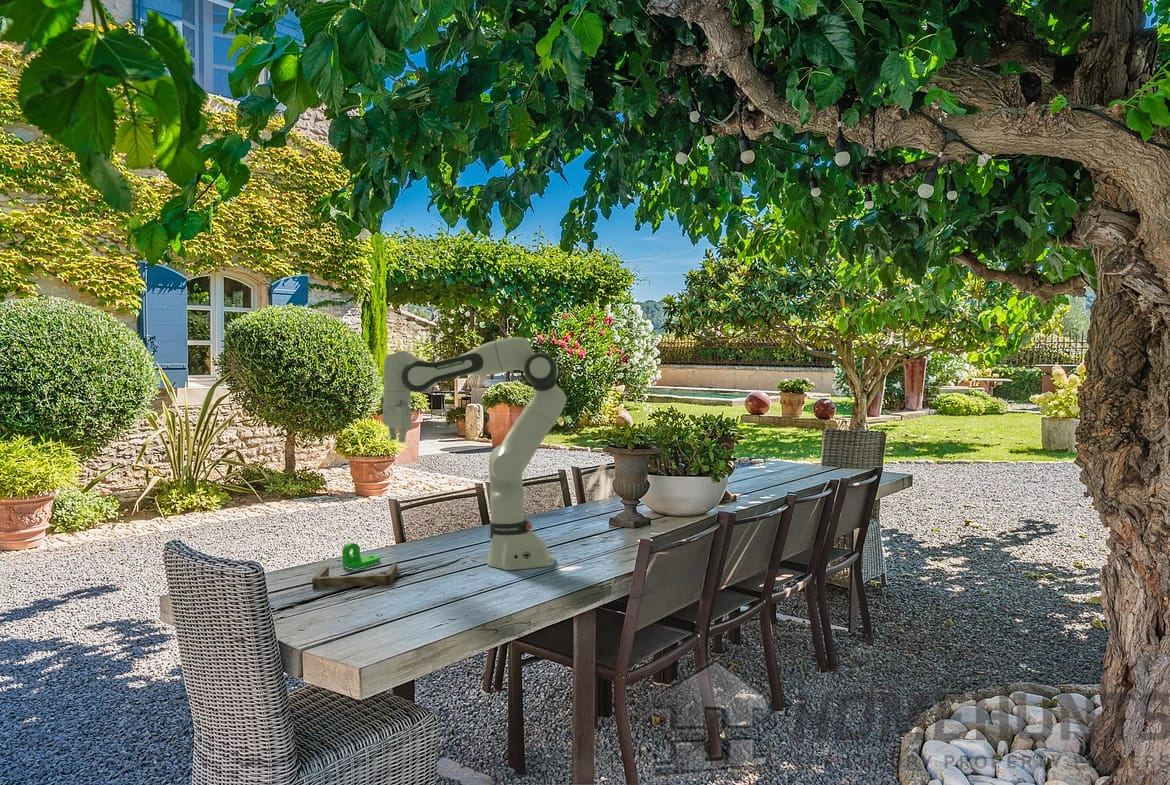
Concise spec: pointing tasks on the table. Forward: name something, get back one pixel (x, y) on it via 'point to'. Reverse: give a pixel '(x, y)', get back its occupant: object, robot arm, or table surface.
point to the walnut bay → (352, 579)
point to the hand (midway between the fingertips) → (397, 441)
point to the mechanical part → (357, 557)
